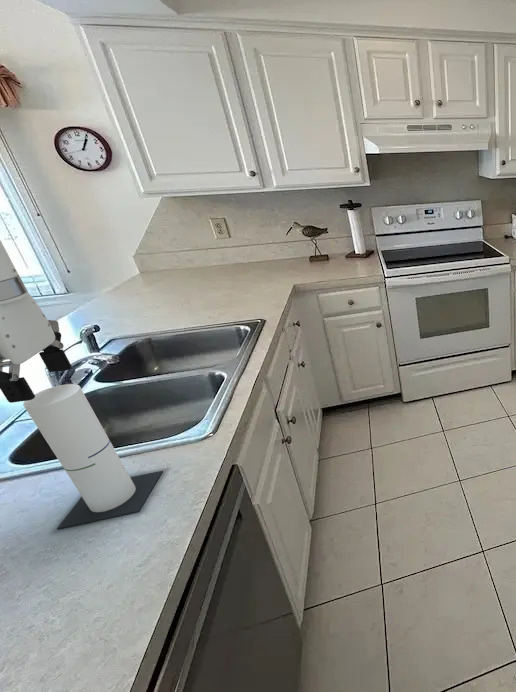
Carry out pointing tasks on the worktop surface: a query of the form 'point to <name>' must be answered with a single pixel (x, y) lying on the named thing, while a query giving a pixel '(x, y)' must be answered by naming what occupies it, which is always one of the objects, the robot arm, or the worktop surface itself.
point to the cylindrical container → (81, 446)
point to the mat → (132, 505)
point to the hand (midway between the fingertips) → (43, 384)
